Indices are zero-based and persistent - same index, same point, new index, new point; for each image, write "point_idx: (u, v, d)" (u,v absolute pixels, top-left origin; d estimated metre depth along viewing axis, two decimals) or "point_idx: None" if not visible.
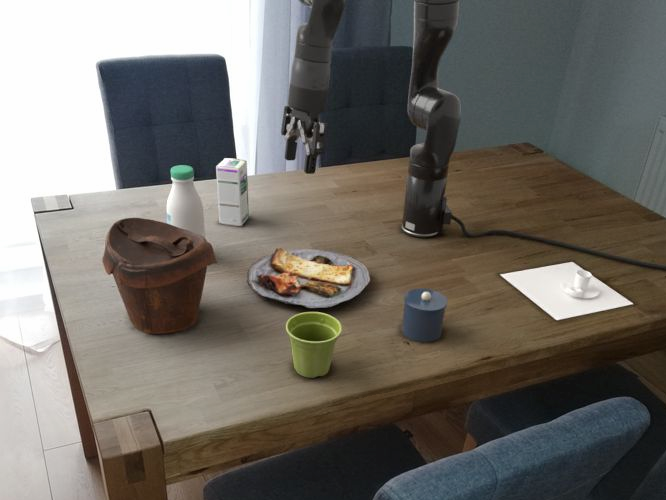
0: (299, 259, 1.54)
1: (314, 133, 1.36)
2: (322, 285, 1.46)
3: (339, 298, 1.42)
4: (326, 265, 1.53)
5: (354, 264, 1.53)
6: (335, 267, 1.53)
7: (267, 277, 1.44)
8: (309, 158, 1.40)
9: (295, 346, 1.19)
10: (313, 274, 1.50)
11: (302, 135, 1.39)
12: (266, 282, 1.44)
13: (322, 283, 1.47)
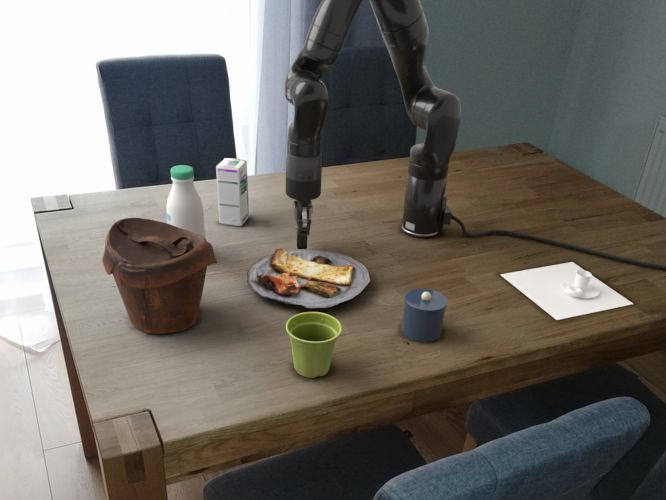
0: (299, 259, 1.54)
1: (298, 225, 1.51)
2: (322, 285, 1.46)
3: (339, 298, 1.42)
4: (326, 265, 1.53)
5: (354, 264, 1.53)
6: (335, 267, 1.53)
7: (267, 277, 1.43)
8: (299, 236, 1.56)
9: (295, 346, 1.19)
10: (313, 275, 1.50)
11: (295, 218, 1.54)
12: (266, 282, 1.44)
13: (322, 283, 1.47)
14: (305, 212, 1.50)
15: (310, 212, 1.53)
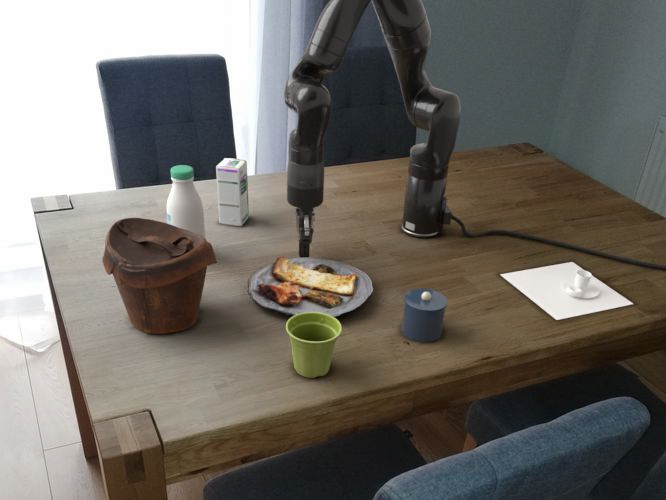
0: (301, 268, 1.51)
1: (300, 233, 1.47)
2: (324, 295, 1.43)
3: (341, 309, 1.38)
4: (328, 274, 1.50)
5: (357, 274, 1.50)
6: (338, 276, 1.49)
7: (268, 287, 1.40)
8: (301, 245, 1.53)
9: (295, 346, 1.19)
10: (315, 284, 1.46)
11: (297, 226, 1.50)
12: (266, 292, 1.41)
13: (324, 293, 1.43)
14: (307, 220, 1.47)
15: (312, 220, 1.49)
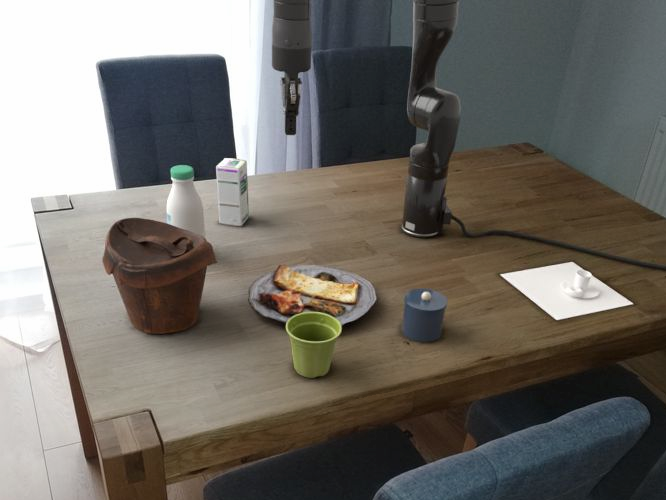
0: (303, 276, 1.48)
1: (286, 101, 1.37)
2: (326, 304, 1.40)
3: (344, 318, 1.35)
4: (331, 282, 1.47)
5: (360, 282, 1.47)
6: (340, 285, 1.46)
7: (269, 296, 1.37)
8: (287, 119, 1.42)
9: (295, 346, 1.19)
10: (317, 292, 1.43)
11: (282, 96, 1.39)
12: (268, 301, 1.38)
13: (326, 302, 1.41)
14: (293, 86, 1.36)
15: (299, 89, 1.38)
